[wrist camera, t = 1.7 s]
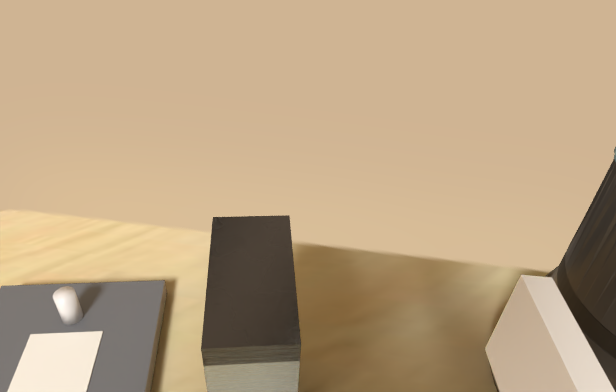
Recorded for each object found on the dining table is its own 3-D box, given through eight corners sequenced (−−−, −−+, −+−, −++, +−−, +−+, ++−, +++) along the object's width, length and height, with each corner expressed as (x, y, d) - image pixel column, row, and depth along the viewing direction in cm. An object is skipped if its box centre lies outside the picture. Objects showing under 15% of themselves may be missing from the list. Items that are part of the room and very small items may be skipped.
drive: (284, 365, 35) (289, 215, 27) (291, 487, 29) (300, 343, 20) (227, 368, 35) (212, 217, 26) (222, 492, 29) (201, 349, 20)
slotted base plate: (167, 293, 40) (160, 257, 37) (121, 562, 26) (106, 535, 23) (8, 298, 39) (-10, 262, 36) (-129, 584, 25) (-174, 558, 22)
